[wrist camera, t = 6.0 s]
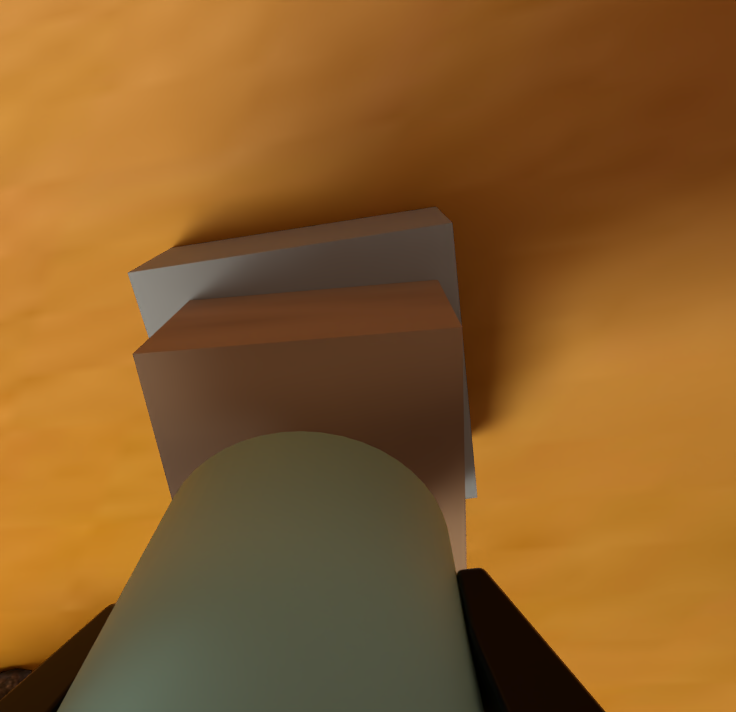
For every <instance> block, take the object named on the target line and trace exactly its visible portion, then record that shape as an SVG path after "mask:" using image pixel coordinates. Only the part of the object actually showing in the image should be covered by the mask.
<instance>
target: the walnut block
mask: <svg viewBox="0 0 736 712" xmlns="http://www.w3.org/2000/svg"><path fill="white" fill-rule="evenodd" d="M133 357H134V361H135V364H136V368H137V372H138V375H139V379H140V383H141V387H142V390H143V394H144V398H145V401H146V405H147V409H148V412H149V416H150V420H151V423H152V427H153V431H154V434H155V438H156V442H157V446H158V449H159V453H160V457H161V460H162V464H163V468H164V471H165V475H166V479H167V482H168V486H169V490H170V493H171V497H172V500H173V498H174V496H175V495H176V493H177V491H178V490H179V488H180V487H181V485H182V484H183V482H184V481H185V480H186V479H187V478H188V477H189V476H190V475H191V473H192V472H193V471H194V470H195V469H196V468H198V467H199V466H200V465H201V464H202V463H204V462H205V461H206V460H207V459H209V458H210V457H212V456H214V455H215V454H217V453H218V452H220V451H222V450H223V449H225V448H228V447H230V446H232V445H235V444H237V443H239V442H241V441H245V440H248V439H251V438H255V437H258V436H262V435H268V434H274V433H279V432H296V431H306V432H322V433H327V434H333V435H339V436H344V437H347V438H350V439H354V440H357V441H360V442H363V443H365V444H368V445H370V446H372V447H375V448H377V449H379V450H381V451H383V452H385V453H386V454H388V455H390V456H392V457H393V458H395V459H397V460H398V461H399V462H401V463H402V464H403V465H404V466H406V467H407V468H408V469H410V470H411V471H412V472H413V473H414V474H415V475H416V476H417V477H418V478H419V479H420V480H421V481H422V482H423V483H424V484H425V485H426V487H427V488H428V489H429V491H430V492H431V493H432V495H433V496H434V498H435V499H436V501H437V503H438V505H439V507H440V509H441V511H442V513H443V516H444V519H445V522H446V524H447V528H448V533H449V538H450V543H451V548H452V553H453V558H454V563H455V568H456V573H457V572H458V571H459V570H463V569H467V567H466V510H465V453H464V396H463V340H462V326H461V324H460V322H459V320H458V318H457V316H456V314H455V312H454V310H453V308H452V306H451V304H450V302H449V300H448V299H447V297H446V295H445V293H444V291H443V289H442V287H441V285H440V283H439V281H438V280H428V281H416V282H404V283H392V284H380V285H368V286H356V287H344V288H332V289H320V290H308V291H296V292H284V293H272V294H260V295H248V296H236V297H224V298H212V299H201V300H189V301H188V302H187V303H186V304H185V305H184V306H183V307H182V308H181V309H180V310H179V311H178V312H177V313H175V314H174V315H173V316H172V317H171V318H170V319H169V320H168V321H167V322H166V323H165V324H164V325H163V326H162V327H161V328H160V329H159V330H158V331H156V332H155V333H154V334H153V335H152V336H151V337H150V338H149V339H148V340H147V341H146V342H145V343H144V344H143V345H142V346H141V347H140V348H139V349H137V350H136V351H135V352H134V353H133Z"/></svg>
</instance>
